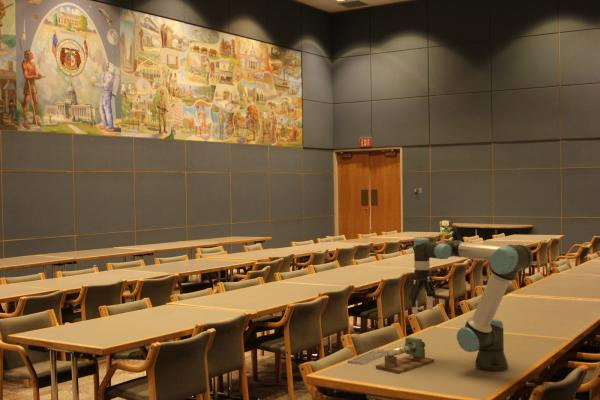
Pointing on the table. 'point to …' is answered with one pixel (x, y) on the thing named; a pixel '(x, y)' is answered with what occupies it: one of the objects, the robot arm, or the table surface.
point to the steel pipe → (401, 350)
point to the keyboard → (368, 357)
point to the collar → (417, 343)
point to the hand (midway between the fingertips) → (422, 311)
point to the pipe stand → (404, 363)
